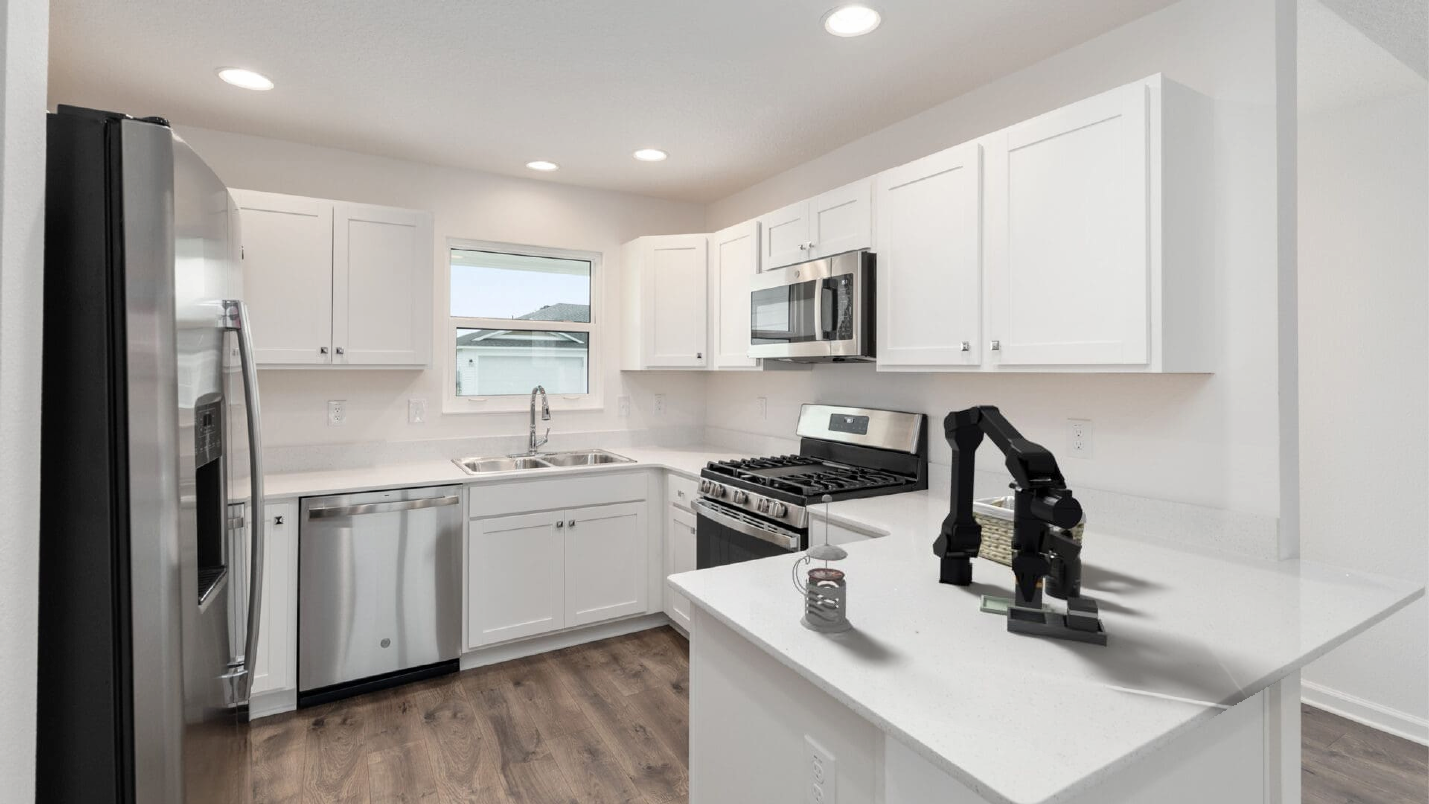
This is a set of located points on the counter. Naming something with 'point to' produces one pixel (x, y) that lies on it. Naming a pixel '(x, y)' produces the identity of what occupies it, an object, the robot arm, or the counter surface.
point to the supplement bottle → (1063, 577)
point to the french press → (824, 589)
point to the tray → (1003, 605)
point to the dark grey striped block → (1037, 596)
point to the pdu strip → (1051, 626)
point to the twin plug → (1082, 614)
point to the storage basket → (1005, 528)
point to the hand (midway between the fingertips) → (1027, 597)
